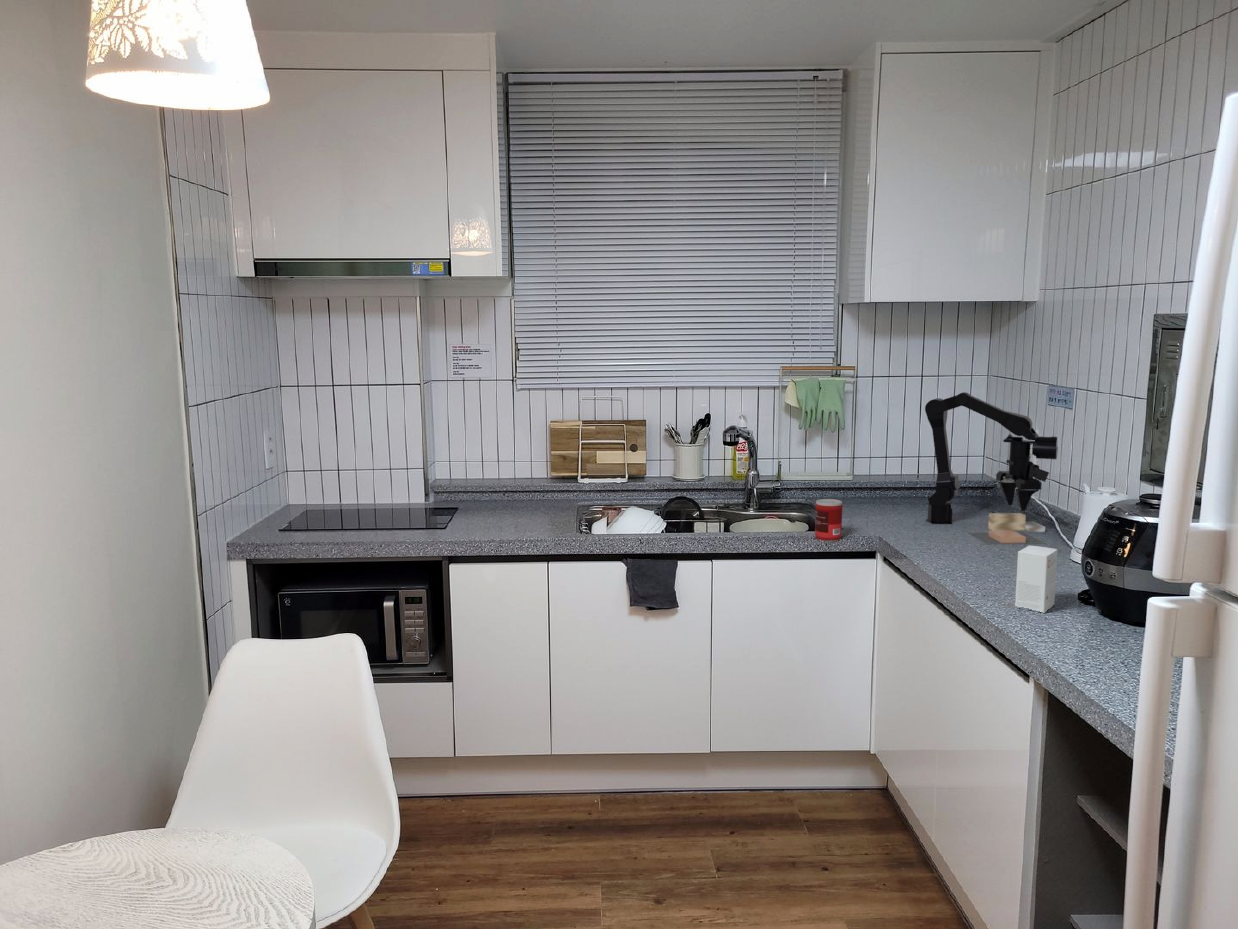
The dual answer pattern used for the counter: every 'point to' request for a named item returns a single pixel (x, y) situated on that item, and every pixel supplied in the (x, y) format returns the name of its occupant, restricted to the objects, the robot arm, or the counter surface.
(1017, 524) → the beige l-shaped piece
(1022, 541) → the tile
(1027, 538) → the mat
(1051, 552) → the small box
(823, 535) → the canned food
